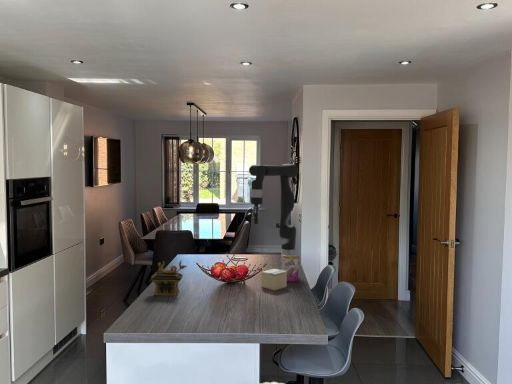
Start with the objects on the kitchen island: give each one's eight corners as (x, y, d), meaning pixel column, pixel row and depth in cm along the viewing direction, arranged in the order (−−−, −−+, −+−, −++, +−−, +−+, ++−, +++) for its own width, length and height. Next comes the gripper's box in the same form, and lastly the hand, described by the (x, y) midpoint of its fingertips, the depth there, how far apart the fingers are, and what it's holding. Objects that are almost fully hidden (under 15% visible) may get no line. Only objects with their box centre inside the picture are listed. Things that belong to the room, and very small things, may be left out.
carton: (273, 284, 295) (274, 269, 295) (286, 286, 289) (286, 272, 288) (261, 287, 286) (261, 272, 285) (274, 290, 279) (274, 275, 279)
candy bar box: (280, 281, 302) (281, 256, 301) (281, 279, 307) (281, 254, 306) (298, 282, 301) (298, 256, 300) (298, 280, 306) (299, 255, 305)
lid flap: (274, 269, 294) (274, 268, 294) (286, 271, 288) (286, 270, 288) (261, 272, 285) (262, 271, 285) (274, 275, 279) (274, 274, 279)
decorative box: (150, 295, 263) (150, 260, 262) (153, 291, 273) (154, 257, 272) (186, 296, 263) (186, 261, 262) (188, 291, 273) (188, 258, 272)
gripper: (261, 197, 290) (261, 225, 291) (263, 196, 304) (262, 222, 305) (249, 197, 291) (248, 224, 292) (251, 195, 304) (251, 222, 305)
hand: (256, 223), depth 298 cm, fingers closed
